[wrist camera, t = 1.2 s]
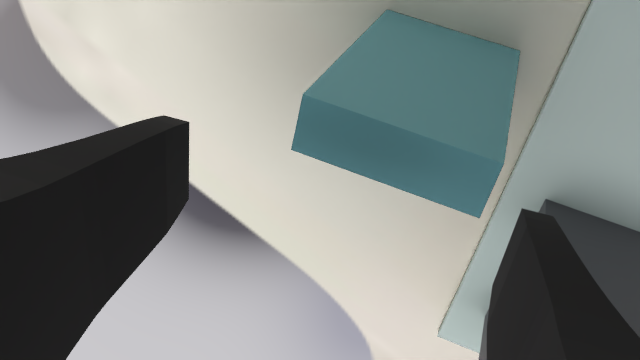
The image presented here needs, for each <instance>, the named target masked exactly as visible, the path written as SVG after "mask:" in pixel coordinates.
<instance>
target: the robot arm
mask: <svg viewBox="0 0 640 360" xmlns="http://www.w3.org/2000/svg"><path fill="white" fill-rule="evenodd" d="M188 197H189V122H187V121H183V120H179V119H175V118H171V117H168V116H159V117H154V118H150V119H146V120H142V121H139V122H135V123H132V124H129V125H125V126H122V127H119V128H116V129H113V130H110V131H106V132H103V133H100V134H96V135H93V136H90V137H87V138H84V139H80V140H76V141H73V142H69V143H65V144H62V145H58V146H54V147H50V148H47V149H43V150H39V151H36V152H31V153H27V154H23V155H18V156H13V157H9V158H3V159H0V360H66V358H67V357H68V355H69V354H70V352H71V351H72V349H73V348H74V347H75V345H76V343H77V342H78V341H79V339H80V338H81V337H82V335H83V334H84V332H85V331H86V329H87V328H88V326H89V325H90V324H91V322H92V321H93V319H94V318H95V317H96V315H97V314H98V313H99V312H100V310H101V309H102V307H104V305H105V304H106V303H107V302H108V300H109V299H110V298H111V297H112V296H113V295H114V294H115V292H116V291H117V290H118V289H119V288H120V287H121V286H122V284H123V283H124V282H125V281H126V280H127V279H128V278H129V276H130V275H131V274H132V273H133V272H134V271H135V270H136V268H137V267H138V266H139V265H140V264H141V263H142V262H143V260H144V259H145V258H146V257H147V256H148V255H149V254H150V252H151V251H152V250H153V249H154V248H155V247H156V245H157V244H158V243H159V242H160V241H161V240H162V238H163V237H164V236H165V235H166V234H167V232H168V231H169V229H170V228H171V226H172V225H173V223H174V222H175V220H176V219H177V217H178V215H179V214H180V212H181V211H182V209H183V207H184V206H185V204H186V202H187V201H188V199H189V198H188ZM487 360H640V337H639V336H638V335H637V334H636V333H635V331H634V330H633V329H632V328H631V327H630V326H629V324H628V323H627V322H626V321H625V319H624V318H623V317H622V316H621V314H620V313H619V312H618V311H617V309H616V308H615V307H614V305H613V304H612V303H611V302H610V300H609V299H608V298H607V296H606V295H605V294H604V292H603V291H602V290H601V288H600V287H599V285H598V284H597V283H596V281H595V280H594V278H593V277H592V275H591V274H590V273H589V271H588V270H587V268H586V267H585V265H584V264H583V262H582V261H581V259H580V257H579V256H578V254H577V253H576V251H575V250H574V248H573V247H572V245H571V243H570V242H569V240H568V239H567V237H566V235H565V234H564V232H563V230H562V229H561V227H560V226H559V224H558V223H557V221H556V219H555V218H554V217H553V216H550V215H546V214H543V213H539V212H535V211H531V210H527V209H523V208H522V209H521V212H520V214H519V217H518V219H517V222H516V225H515V227H514V230H513V232H512V235H511V238H510V240H509V243H508V245H507V248H506V251H505V253H504V256H503V259H502V261H501V264H500V266H499V269H498V272H497V274H496V277H495V279H494V282H493V285H492V291H491V298H490V305H489V313H488V321H487Z"/></svg>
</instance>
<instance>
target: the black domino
mask: <svg viewBox="0 0 640 360" xmlns="http://www.w3.org/2000/svg"><path fill="white" fill-rule="evenodd" d="M539 213H543V214H546V215H550V216H553V217H554V218H555V219H556V221H557V223H558V224H559V226H560V227H561V229H562V230H563V232H564V234H565V235H566V237H567V239H568V240H569V242H570V243H571V245H572V247H573V248H574V250H575V251H576V253H577V254H578V256H579V257H580V259H581V261H582V262H583V264H584V265H585V267H586V268H587V270H588V271H589V273H590V274H591V275H592V277H593V278H594V280H595V281H596V283H597V284H598V285H599V287H600V288H601V290H602V291H603V292H604V294H605V295H606V296H607V298H608V299H609V300H610V302H611V303H612V304H613V305H614V307H615V308H616V309H617V311H618V312H619V313H620V314H621V316H622V317H623V318H624V319H625V321H626V322H627V323H628V324H629V326H630V327H631V328H632V329H633V330H634V331H635V333H636V334H637V335H638V336H639V337H640V232H639V231H636V230H633V229H630V228H627V227H625V226H622V225H619V224H616V223H613V222H610V221H608V220H605V219H602V218H599V217H596V216H593V215H591V214H588V213H585V212H582V211H579V210H576V209H573V208H571V207H568V206H565V205H562V204H559V203H556V202H554V201H551V200H548V199H545V201H544V203H543V205H542V206H541V208H540V210H539Z"/></svg>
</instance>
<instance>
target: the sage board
mask: <svg viewBox="0 0 640 360" xmlns="http://www.w3.org/2000/svg"><path fill="white" fill-rule="evenodd" d="M545 199H548V200H551V201H554V202H556V203H559V204H562V205H565V206H568V207H571V208H573V209H576V210H579V211H582V212H585V213H588V214H591V215H593V216H596V217H599V218H602V219H605V220H608V221H610V222H613V223H616V224H619V225H622V226H625V227H627V228H630V229H633V230H636V231H639V232H640V0H592V1H591V3H590V5H589V7H588V9H587V12H586V14H585V16H584V18H583V20H582V22H581V25H580V27H579V29H578V31H577V33H576V35H575V38H574V40H573V42H572V44H571V46H570V48H569V50H568V53H567V55H566V57H565V59H564V61H563V63H562V66H561V68H560V70H559V72H558V74H557V76H556V78H555V81H554V83H553V85H552V87H551V89H550V91H549V94H548V96H547V98H546V100H545V102H544V104H543V107H542V109H541V111H540V113H539V115H538V117H537V119H536V122H535V124H534V126H533V128H532V130H531V132H530V135H529V137H528V139H527V141H526V143H525V145H524V148H523V150H522V152H521V154H520V156H519V158H518V160H517V163H516V165H515V167H514V169H513V171H512V173H511V176H510V178H509V180H508V182H507V184H506V186H505V188H504V191H503V193H502V195H501V197H500V199H499V201H498V204H497V206H496V208H495V210H494V212H493V214H492V217H491V219H490V221H489V223H488V225H487V227H486V229H485V232H484V234H483V236H482V238H481V240H480V242H479V245H478V247H477V249H476V251H475V253H474V255H473V257H472V260H471V262H470V264H469V266H468V268H467V270H466V273H465V275H464V277H463V279H462V281H461V283H460V286H459V288H458V290H457V292H456V294H455V296H454V298H453V301H452V303H451V305H450V307H449V309H448V311H447V314H446V316H445V318H444V320H443V322H442V324H441V326H440V329H439V331H438V335H437V336H438V337H440V338H443V339H445V340H448V341H450V342H453V343H455V344H458V345H460V346H463V347H465V348H468V349H470V350H473V351H475V352H478V353H480V347H481V340H482V333H483V325H484V318H485V315H486V313H487V311H488V309H489V305H490V298H491V291H492V285H493V282H494V279H495V277H496V274H497V272H498V269H499V266H500V264H501V261H502V259H503V256H504V253H505V251H506V248H507V245H508V243H509V240H510V238H511V235H512V232H513V230H514V227H515V225H516V222H517V219H518V217H519V214H520V212H521V209H522V208H523V209H527V210H531V211H535V212H539V210H540V208H541V206H542V205H543V203H544V201H545Z"/></svg>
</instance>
